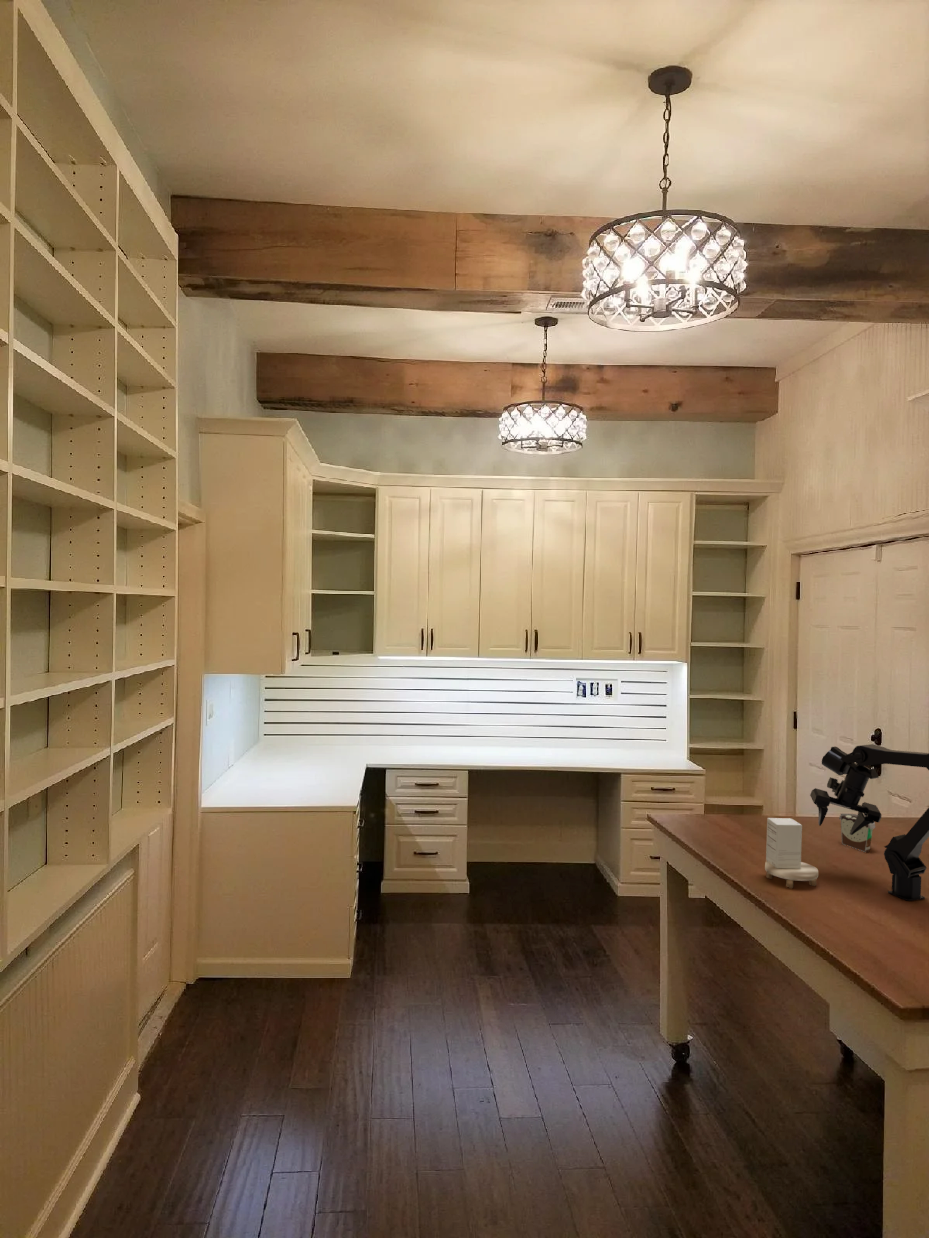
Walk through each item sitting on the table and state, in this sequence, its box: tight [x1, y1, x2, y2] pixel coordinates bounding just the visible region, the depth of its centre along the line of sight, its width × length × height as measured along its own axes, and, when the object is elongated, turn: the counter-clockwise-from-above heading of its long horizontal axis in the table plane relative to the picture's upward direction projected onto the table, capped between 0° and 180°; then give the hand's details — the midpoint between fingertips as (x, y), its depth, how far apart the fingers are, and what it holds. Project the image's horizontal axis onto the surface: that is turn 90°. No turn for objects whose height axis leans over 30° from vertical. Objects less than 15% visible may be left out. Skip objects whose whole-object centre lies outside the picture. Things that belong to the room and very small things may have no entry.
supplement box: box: [765, 817, 803, 869], centre depth 226 cm, size 7×7×13 cm
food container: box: [838, 812, 876, 853], centre depth 259 cm, size 12×6×10 cm, turn 22°
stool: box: [764, 860, 819, 889], centre depth 224 cm, size 14×14×4 cm
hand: (835, 829), depth 233 cm, fingers open, 9 cm apart
